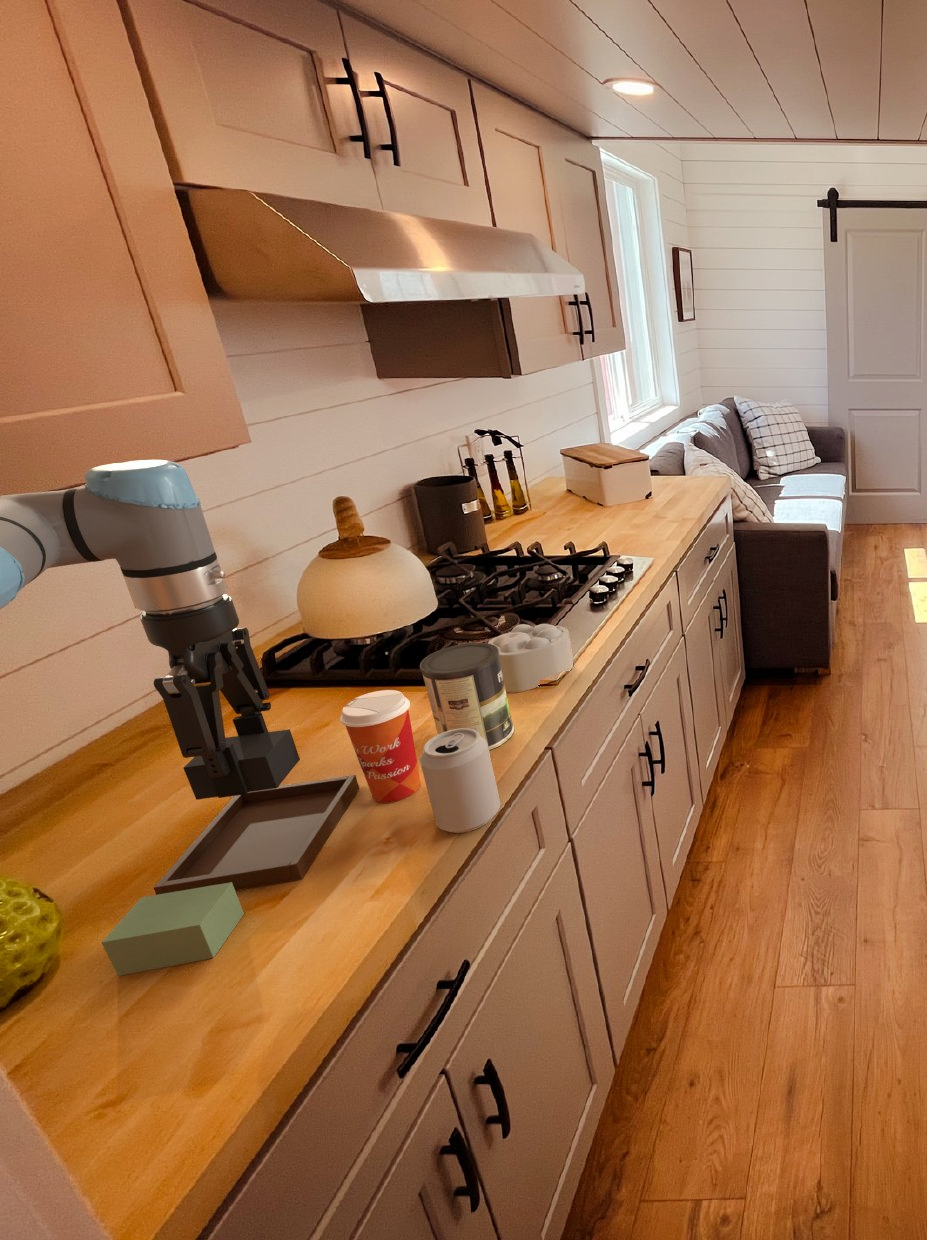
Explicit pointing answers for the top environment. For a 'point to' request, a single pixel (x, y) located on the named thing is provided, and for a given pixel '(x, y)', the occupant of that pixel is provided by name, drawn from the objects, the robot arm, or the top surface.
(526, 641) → the lumpy-topped squat cylinder
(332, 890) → the top surface
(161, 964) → the pad
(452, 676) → the coffee can
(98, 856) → the top surface
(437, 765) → the can
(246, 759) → the black block
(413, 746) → the paper cup
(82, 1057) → the top surface
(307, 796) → the tray
